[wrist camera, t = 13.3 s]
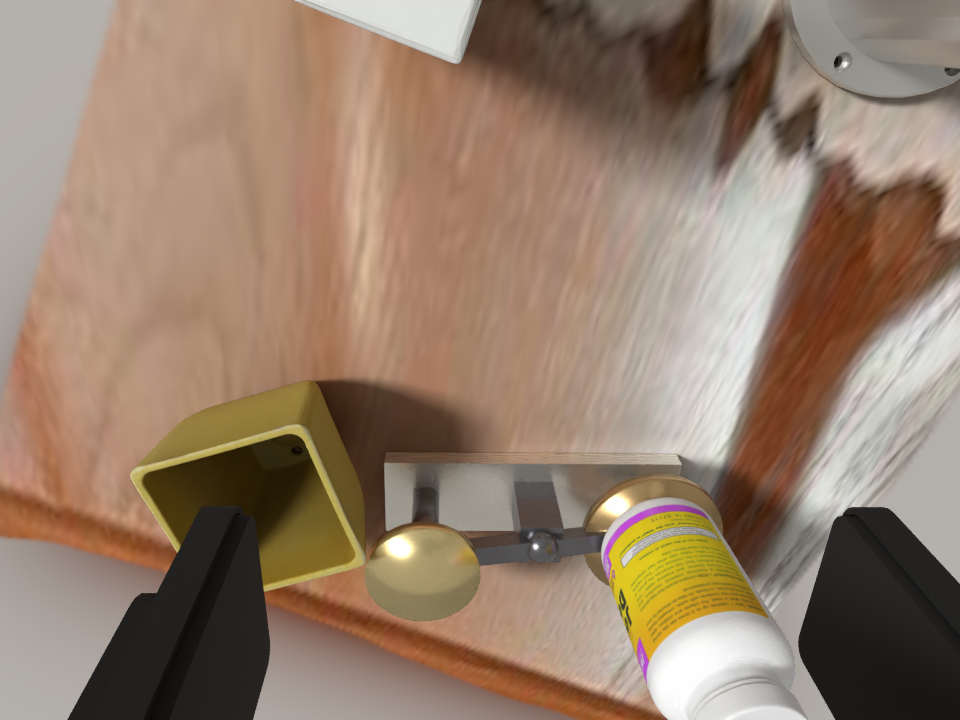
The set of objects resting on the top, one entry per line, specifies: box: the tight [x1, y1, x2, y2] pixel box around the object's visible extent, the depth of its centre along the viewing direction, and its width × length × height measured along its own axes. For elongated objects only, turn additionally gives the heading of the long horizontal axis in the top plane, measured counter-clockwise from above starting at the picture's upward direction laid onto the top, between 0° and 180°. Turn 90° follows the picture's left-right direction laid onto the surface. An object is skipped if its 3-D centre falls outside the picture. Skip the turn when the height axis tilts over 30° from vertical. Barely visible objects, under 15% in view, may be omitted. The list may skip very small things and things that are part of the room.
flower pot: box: [130, 380, 366, 592], centre depth 38 cm, size 9×9×9 cm
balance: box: [365, 452, 723, 621], centre depth 41 cm, size 20×8×8 cm, turn 88°
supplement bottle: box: [601, 497, 808, 720], centre depth 35 cm, size 7×7×13 cm
